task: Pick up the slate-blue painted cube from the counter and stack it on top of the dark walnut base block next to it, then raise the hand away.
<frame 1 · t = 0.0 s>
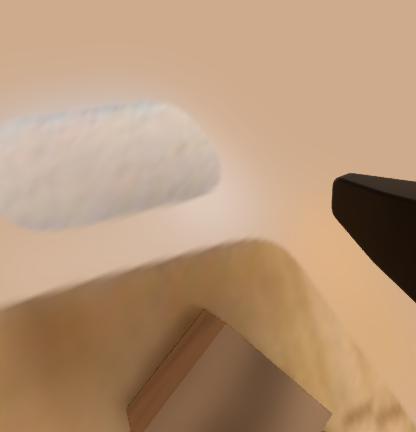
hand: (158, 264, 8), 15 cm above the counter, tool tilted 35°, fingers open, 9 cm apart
base block: (216, 397, 24), on the counter
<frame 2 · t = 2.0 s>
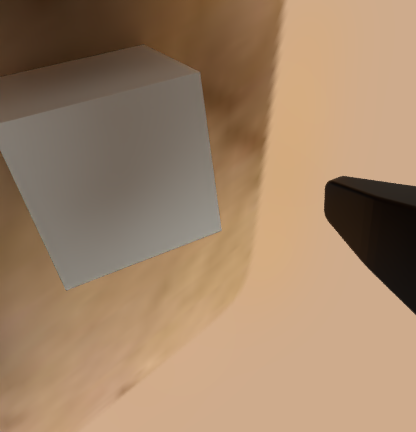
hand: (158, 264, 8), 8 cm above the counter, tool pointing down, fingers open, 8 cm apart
cube: (93, 131, 14), on the counter
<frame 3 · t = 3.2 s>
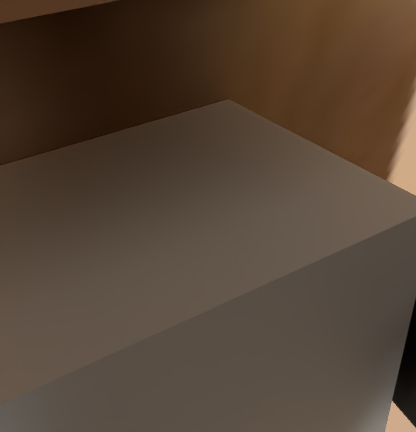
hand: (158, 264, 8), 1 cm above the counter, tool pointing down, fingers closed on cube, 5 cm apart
cube: (142, 235, 9), on the counter, touching gripper
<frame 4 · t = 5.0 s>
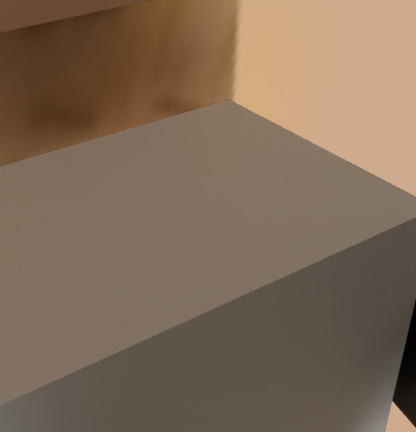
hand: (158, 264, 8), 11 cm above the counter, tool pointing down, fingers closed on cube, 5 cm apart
cube: (143, 236, 9), point 10 cm above the counter, touching gripper
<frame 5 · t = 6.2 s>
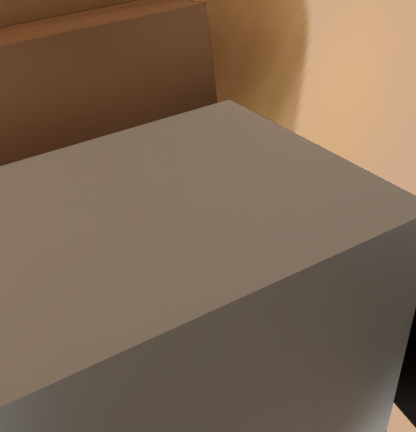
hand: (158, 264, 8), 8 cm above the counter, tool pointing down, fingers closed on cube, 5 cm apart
base block: (88, 138, 14), on the counter
cube: (143, 236, 9), point 7 cm above the counter, touching gripper
when the fingers open (5 cm above the counter, at t = 7.1 s): cube stays where it is, resting on base block.
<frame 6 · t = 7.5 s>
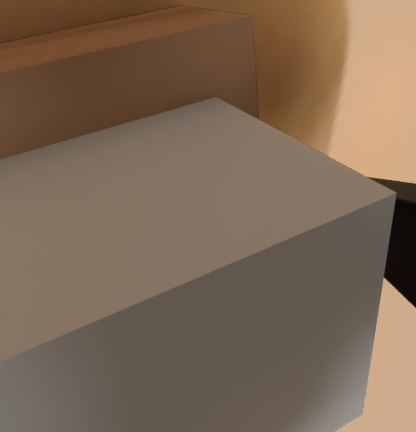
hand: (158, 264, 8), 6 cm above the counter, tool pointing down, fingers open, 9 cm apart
base block: (101, 167, 13), on the counter
cube: (135, 228, 9), point 4 cm above the counter, touching base block
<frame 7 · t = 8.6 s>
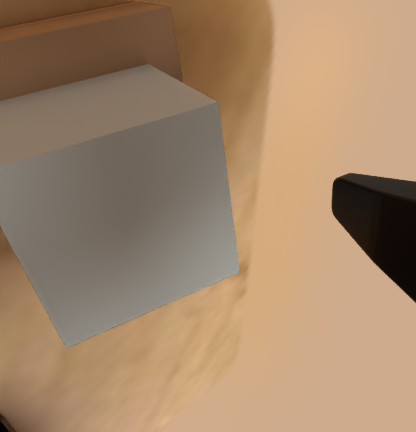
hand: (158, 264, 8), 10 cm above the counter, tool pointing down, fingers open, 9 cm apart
base block: (76, 126, 16), on the counter
cube: (94, 159, 13), point 4 cm above the counter, touching base block
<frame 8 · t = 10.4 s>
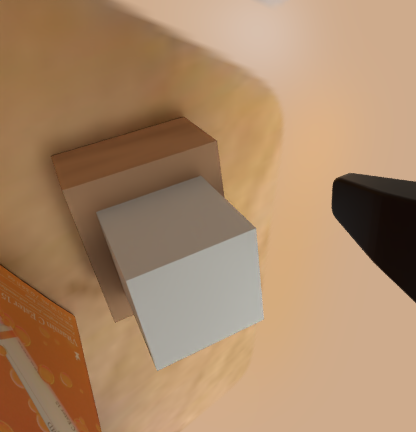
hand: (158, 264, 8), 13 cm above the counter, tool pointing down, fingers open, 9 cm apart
base block: (139, 201, 22), on the counter
cube: (161, 237, 19), point 4 cm above the counter, touching base block
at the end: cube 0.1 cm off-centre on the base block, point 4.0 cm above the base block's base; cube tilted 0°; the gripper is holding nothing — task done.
